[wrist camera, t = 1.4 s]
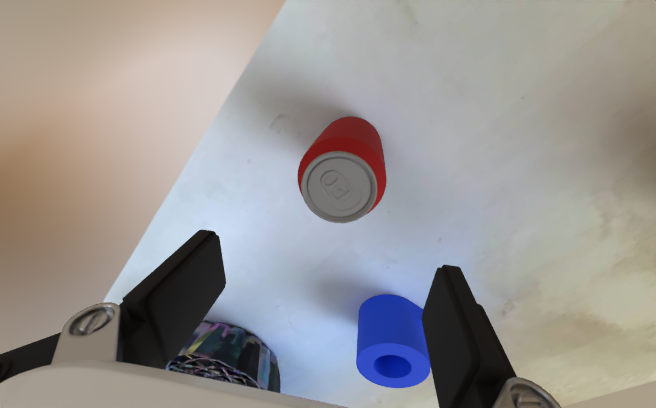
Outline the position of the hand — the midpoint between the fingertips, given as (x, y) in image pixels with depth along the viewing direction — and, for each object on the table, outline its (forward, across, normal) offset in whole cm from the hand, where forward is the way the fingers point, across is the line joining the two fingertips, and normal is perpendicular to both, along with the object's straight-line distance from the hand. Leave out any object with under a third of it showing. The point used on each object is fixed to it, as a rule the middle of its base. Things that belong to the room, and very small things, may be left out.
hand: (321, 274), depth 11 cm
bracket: (+20, -13, +27) cm, 36 cm away
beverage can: (+20, 0, -1) cm, 20 cm away
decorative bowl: (+21, +19, +44) cm, 52 cm away
